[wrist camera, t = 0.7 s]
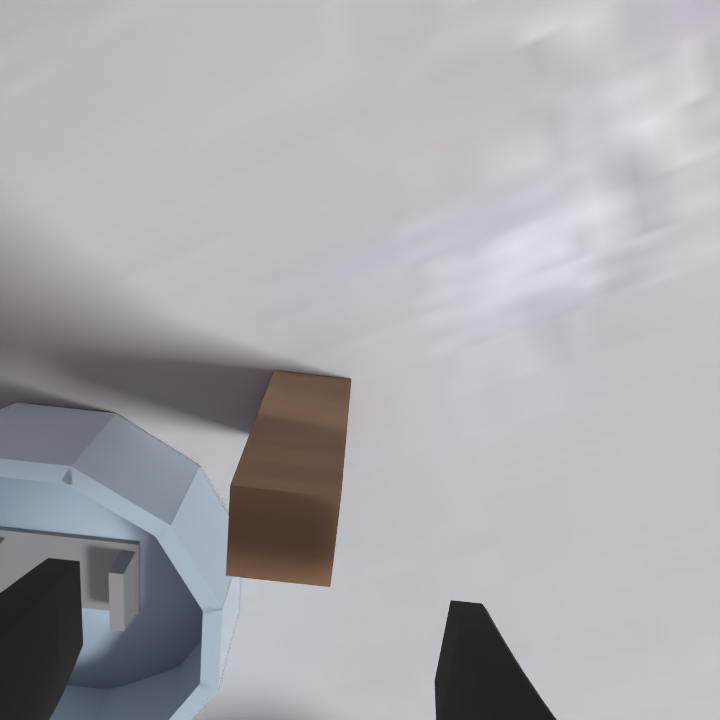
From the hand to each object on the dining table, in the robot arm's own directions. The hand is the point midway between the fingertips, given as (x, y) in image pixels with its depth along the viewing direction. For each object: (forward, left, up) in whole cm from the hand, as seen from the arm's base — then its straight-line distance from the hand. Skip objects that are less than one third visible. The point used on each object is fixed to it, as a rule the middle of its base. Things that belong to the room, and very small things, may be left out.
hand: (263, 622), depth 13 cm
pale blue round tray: (-7, +8, -10) cm, 14 cm away
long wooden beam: (0, 0, -10) cm, 10 cm away
